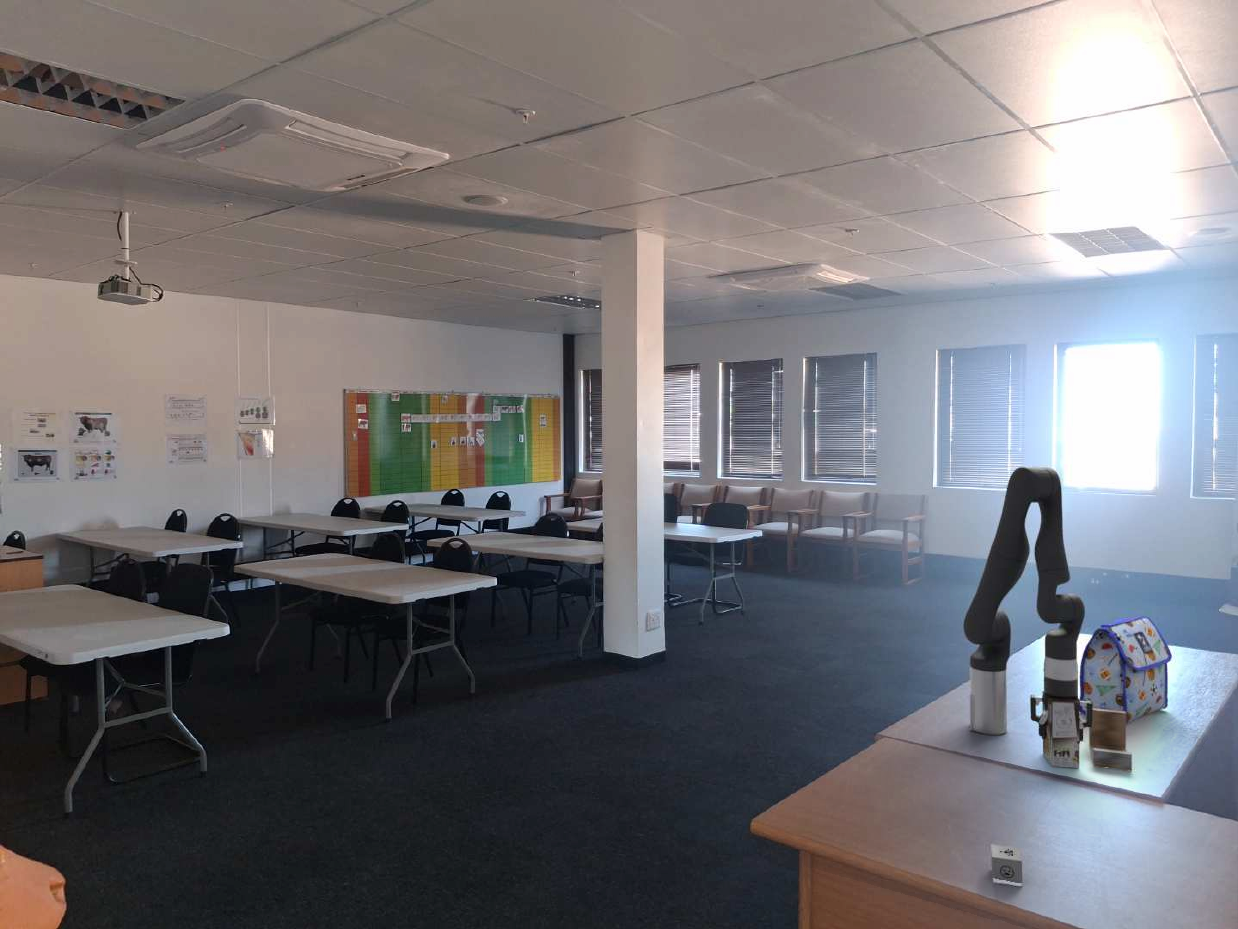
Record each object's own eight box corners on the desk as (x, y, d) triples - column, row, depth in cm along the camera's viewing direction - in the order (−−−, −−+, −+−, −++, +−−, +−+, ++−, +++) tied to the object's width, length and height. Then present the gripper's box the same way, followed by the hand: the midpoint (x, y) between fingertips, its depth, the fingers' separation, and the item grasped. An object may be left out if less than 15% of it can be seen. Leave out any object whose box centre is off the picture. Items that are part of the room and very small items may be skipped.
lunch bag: (1134, 730, 232) (1134, 632, 230) (1074, 713, 246) (1074, 620, 245) (1177, 713, 244) (1177, 619, 242) (1118, 698, 258) (1118, 609, 256)
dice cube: (1022, 887, 157) (1021, 861, 157) (992, 883, 159) (992, 856, 158) (1020, 874, 161) (1020, 848, 161) (991, 869, 163) (991, 844, 163)
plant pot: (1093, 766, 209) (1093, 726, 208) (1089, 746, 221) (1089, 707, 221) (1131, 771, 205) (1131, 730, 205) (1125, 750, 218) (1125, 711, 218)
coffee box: (1080, 768, 208) (1080, 702, 207) (1051, 767, 209) (1051, 701, 208) (1069, 754, 216) (1069, 691, 216) (1041, 752, 218) (1041, 690, 217)
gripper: (1028, 676, 211) (1028, 741, 212) (1095, 682, 205) (1095, 749, 206) (1028, 667, 218) (1028, 731, 219) (1092, 673, 212) (1092, 739, 213)
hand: (1060, 740), depth 212 cm, fingers closed on coffee box, 7 cm apart
